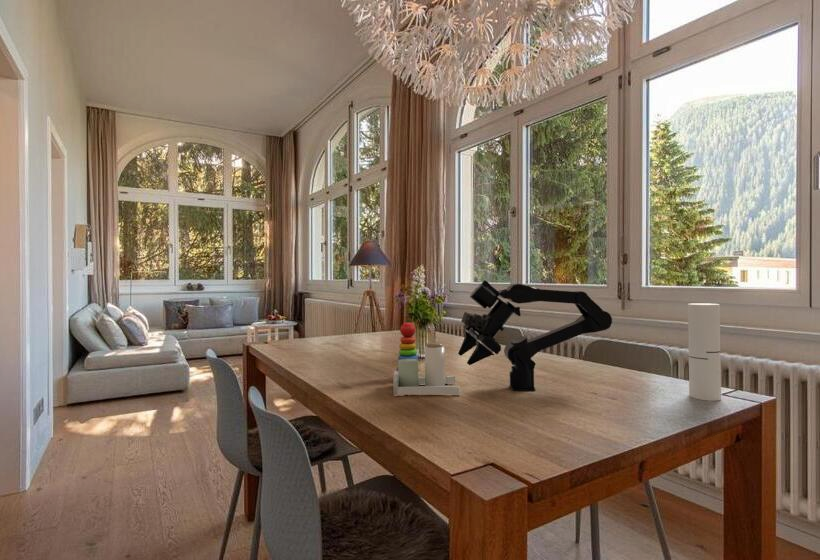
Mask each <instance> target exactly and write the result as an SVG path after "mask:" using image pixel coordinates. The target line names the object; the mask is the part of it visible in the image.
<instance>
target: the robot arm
mask: <svg viewBox="0 0 820 560" xmlns="http://www.w3.org/2000/svg"><path fill="white" fill-rule="evenodd" d="M469 298H470V299H472V300H473V301H474V302H475V303H477V305H479V306H480V307H482V308H483V309H484V310H485V309H487V308H488V309H490V311H489V312H488V313H484V314H482V315H480V314H477V313H469V312H467V311H464V312H463V316H462V318H461V323H463V324H464V325H463V328H464V329H463V330H462V331H463V335H464V338H463V341H462V343H461V346H460V348H459V351H458V352H457V354H458V355H459V356H461V357H462V356H463V355H465V354H466V353H468V351H470V350H471V349H473V348H475V349H474V350H473V352H472V353H471V355H470V357H469V358H468V360H467V362H466V364H468V366H472V365H473V364H476V363H477V362H479V361H481V360H484V359H486V358H489V357H491V356H495V354H496V355H498V354H499V353H500V352H501V350H502V346H501V344H500V343H499V342H497V341H496V338H495V337H496V336H497V334H498V333H499V332H500V331H501V332H503V331H504V330H505V328H504V326H505V324H507V322H508V321H509V319H511V317H513V315H515V316H516V317H521V314H522V313H521V307H520V306H515V305H514V304H513V303H515V304H527V303H528V304H529V303H534V302H535V303H536V302H545V303H546V302H547V303H558V304H559V303H561V304H571V305H572V304H574V306H576V308H577V309H578V311H579V313H580V314H581V315H580V316H579V317H578V318H576V319H575V320H574V321H572V322H570V323H567V324H564V325H562V326H559V327H557V328H554V329H552V330H550V331H547V332H545V333H543V334H540V335H537V336H535V337H532V338H528V339H527V337H525V336H523V335H520V336H519V337H516V338H515V339H510V340H509V341H510V342H508V343H507V344H506V345H505V347H504V349H503V354H504V356H505V357H506V359H507V360H509V362H510V363H511V367H510V368H511V370H510V371H509V375H508V376H509V386H510V387H511V389H512V391H536V387H535V368H536V367H535V366H536V364H537V363H536V362H535V361H534V360H533V359H532V358H533V357H534V356H536V354H538V353H539V352H541V351H544V350H547V349H548V348H551V347H553V346H556V345H558V344H561V343H564V342H565V341H568V340H571V339H574V338H575V337H578V336H581V335H584V334H591V333H592V334H593V333H598V332H604V331H607V330H608V329H610V328H611V326H612V324H613V318H612V316H611V314H610V313H609V312H608V311H605V310H603V309H602V308H601V306H599V304H597V303H596V302H595V301H594V300H593V299H591V297H590V296H589V295H588V294H587V292H585V291H581V290H575V291H570V290H569V291H568V290H557V289H543V288H537V287H534V286H531V285H525V284H522V283H511V284H510V285H509V286H508V287H507V288H505V289H499V290H497V289H496V288H495V287H494V286H492V285H491V284H490V283H489V282H488V281H487V280H482V282H481V283H480V284H478V286H477V287H476V288H475V289H474V290H473V291H472V293H471V294H470V296H469ZM502 299H505V300H508V301H505V302H504V301H503V300H502ZM494 353H495V354H494Z"/></svg>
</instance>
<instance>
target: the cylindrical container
mask: <svg viewBox="0 0 820 560" xmlns="http://www.w3.org/2000/svg"><path fill="white" fill-rule="evenodd" d="M720 305H721V304H719V303H708V302H707V303H703V302H702V303H701V302H699V303H697V302H695V303H687V325H688V326H687V328H688V329H687V332H688V334H687V335H688V337H687V339H688V341H687V342H688V344H687V345H688V390H689V391H688V392H689V393H688V394H689V395H688V396H689V397H691V399H692V398H693V399H696V400H703V401H711V402H712V401H713V402H716V401H720V400H721V399H722V370H721V369H722V368H721V367H722V366H721V364H722V363H721V362H722V361H721V360H722V359H721V357H722V356H721V307H720Z"/></svg>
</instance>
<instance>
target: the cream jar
mask: <svg viewBox="0 0 820 560" xmlns="http://www.w3.org/2000/svg"><path fill="white" fill-rule="evenodd" d="M445 347H446V346H445V345H443V342H427V343H426V345H424V377H425V386H446V385H445V376H446V357H445V355H446V353H445V352H446V349H445Z"/></svg>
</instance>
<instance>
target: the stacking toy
mask: <svg viewBox="0 0 820 560" xmlns="http://www.w3.org/2000/svg"><path fill="white" fill-rule="evenodd" d="M399 331H400V334H401V336H402V337H401V338H400V339H399V341H400V344H399V346H398V347H399V350H398V354H399V356H398V357H397V358H398V360H400V359H417V360H419V359H418V355H417V353H418V350H417V349H416V348H417V347H416V346H417V344H415V342H416V337H414V335H415V333H416V326H415V325H414V324H413V323H412V322H408V321H407V322H404V323H403V324H401V326H400V329H399ZM418 366H419V362H418ZM395 371H398V367H396V370H395ZM420 374H421V373H419V377H421V375H420ZM398 377H399V374H398Z"/></svg>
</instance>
